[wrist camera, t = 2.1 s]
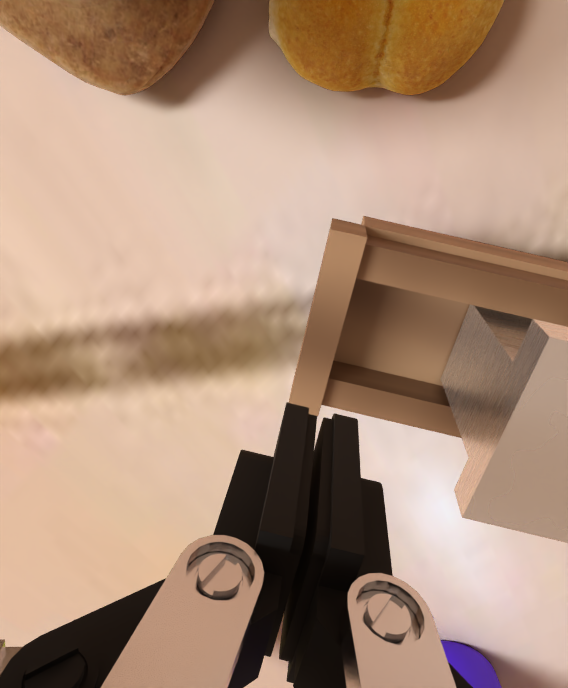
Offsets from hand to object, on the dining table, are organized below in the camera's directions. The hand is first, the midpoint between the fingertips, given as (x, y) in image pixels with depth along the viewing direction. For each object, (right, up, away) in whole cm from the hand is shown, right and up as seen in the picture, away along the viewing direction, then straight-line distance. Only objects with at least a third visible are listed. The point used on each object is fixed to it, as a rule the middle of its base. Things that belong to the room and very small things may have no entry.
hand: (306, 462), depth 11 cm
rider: (+8, +2, +7) cm, 11 cm away
